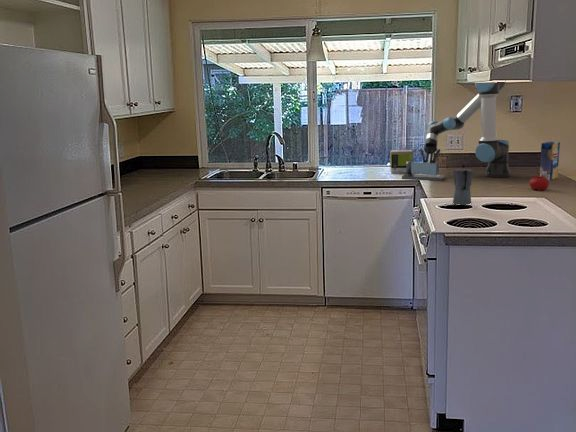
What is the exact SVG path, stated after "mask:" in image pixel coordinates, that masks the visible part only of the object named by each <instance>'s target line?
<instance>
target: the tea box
mask: <svg viewBox="0 0 576 432" xmlns="http://www.w3.org/2000/svg"><path fill="white" fill-rule="evenodd" d="M389 153H390V154H389V157H390V161H389V162H390V164H389V166H390V167H389V170H390V173H391V174H407V173H406V162H407V161H413V162H415V161H414V157H415V156H414V155H415V154H414V153H415V152H414V151H413V149H402V150H401V149H400V150H398V149H397V150H395V149H393V150H390V151H389Z"/></svg>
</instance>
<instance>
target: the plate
mask: <svg viewBox="0 0 576 432" xmlns="http://www.w3.org/2000/svg"><path fill="white" fill-rule="evenodd" d="M445 178H446V174H445V175H444V174H439V175H427V174H417V173H404V174H403V175H402V176H401V180H419V181H442V182H443V180H444V179H445Z"/></svg>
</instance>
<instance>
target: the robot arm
mask: <svg viewBox="0 0 576 432" xmlns="http://www.w3.org/2000/svg"><path fill="white" fill-rule="evenodd" d="M505 85H506V81H505V82H497V83H475V82H474V86H475V89H477V91H478V93H477V94H476V95H475V96H474V97H473V98H472V99H471V100H470V101H469V102H468V103H467V104H466V105H465V106H464V107H463V108H462V109H461V110H460V111H459V112H458V113H456V115H455V116H454V117H452V116H448V117H445V118H444V119H442V120H440V121H437V120H431V121H429V122H428V124H427V128H426V136H425V144H424V148H420V150H419V152H420V154H421V157H422V162H425V163H436V161H437V159H438V157H439V155H440V154H441V149H439V148H438V140H439V135H440V134H442V133H445V132H448V131H455V130H461V129H463V128H464V126H465V123H467V121H468V120H470V118H472V116H473V115H475V114H476V113H477V112H478V111H479V110H481V111H480V112H481V113H480V138H479V139H478V145H477V146H476V147H475V150H474V151H475V156H476V159H478V160H479V161H480V162H483V163H488V164H487V166H486V170H485V173H484V175H485V177H490V178H508V177H511V171H510V168H509V167H510V166H509V149H510V141H509V140H506V139H498V137H497V134H496V132H497V130H496V129H497V122H496V121H497V97H498V96H499V94H500V92H501V91H502V90H503V89H504V88H505ZM425 153H426V156H425ZM429 156H430V157H429ZM425 157H426V158H425Z"/></svg>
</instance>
